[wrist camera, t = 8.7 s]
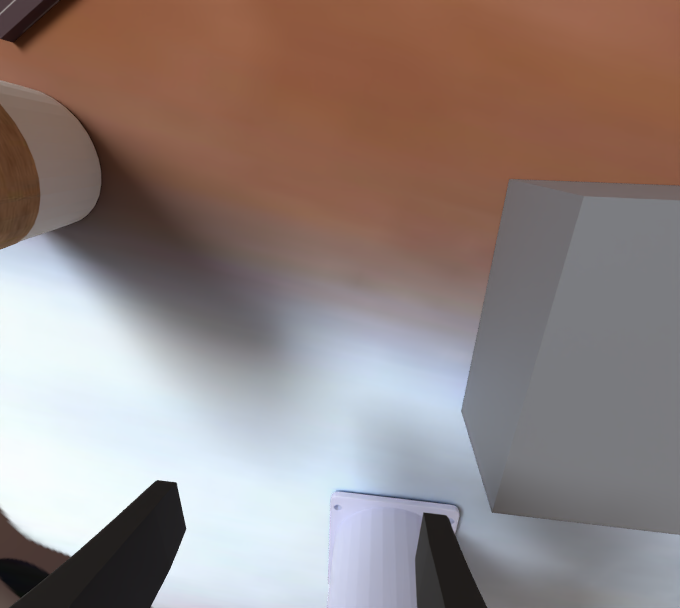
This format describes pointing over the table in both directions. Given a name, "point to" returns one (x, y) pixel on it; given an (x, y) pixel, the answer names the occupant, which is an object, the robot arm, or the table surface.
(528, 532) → the table surface
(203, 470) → the table surface
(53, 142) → the coffee cup
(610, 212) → the grey tissue box
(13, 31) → the chocolate bar
